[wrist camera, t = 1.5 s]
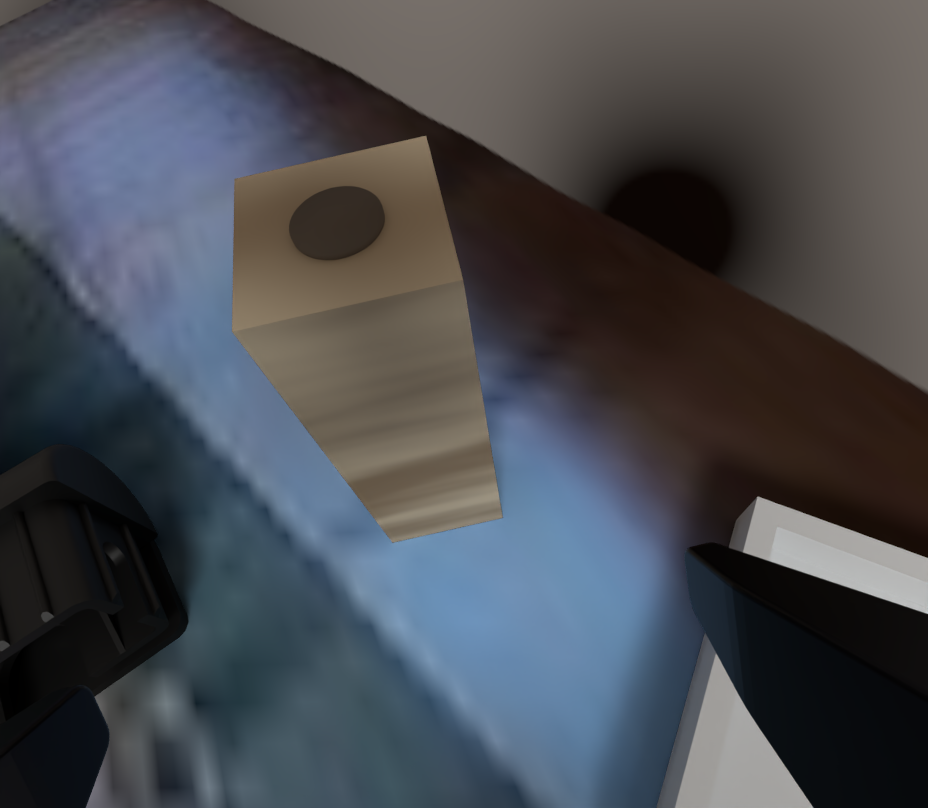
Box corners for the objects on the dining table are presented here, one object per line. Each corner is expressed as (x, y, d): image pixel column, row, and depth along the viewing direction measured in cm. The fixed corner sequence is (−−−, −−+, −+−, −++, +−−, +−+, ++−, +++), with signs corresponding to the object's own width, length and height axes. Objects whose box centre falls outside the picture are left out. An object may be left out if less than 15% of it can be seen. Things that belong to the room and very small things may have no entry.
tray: (1178, 1233, 13) (1303, 1330, 11) (630, 901, 17) (643, 926, 15) (1152, 677, 18) (1235, 669, 16) (736, 519, 22) (757, 496, 20)
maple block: (502, 517, 23) (462, 274, 11) (392, 542, 23) (228, 326, 11) (479, 421, 25) (424, 129, 13) (379, 443, 25) (231, 173, 13)
